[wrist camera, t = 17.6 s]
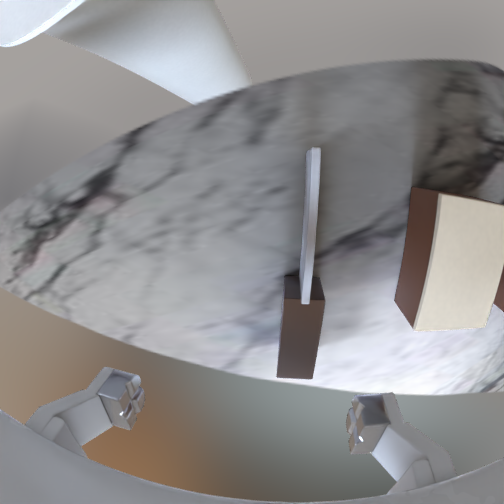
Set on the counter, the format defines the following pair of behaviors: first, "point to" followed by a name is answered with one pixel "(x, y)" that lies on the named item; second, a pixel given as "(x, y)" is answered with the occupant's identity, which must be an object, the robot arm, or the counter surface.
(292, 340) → the knife
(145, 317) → the counter surface
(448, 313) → the cake
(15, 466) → the robot arm
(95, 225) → the counter surface
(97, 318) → the counter surface
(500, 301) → the cake slice
